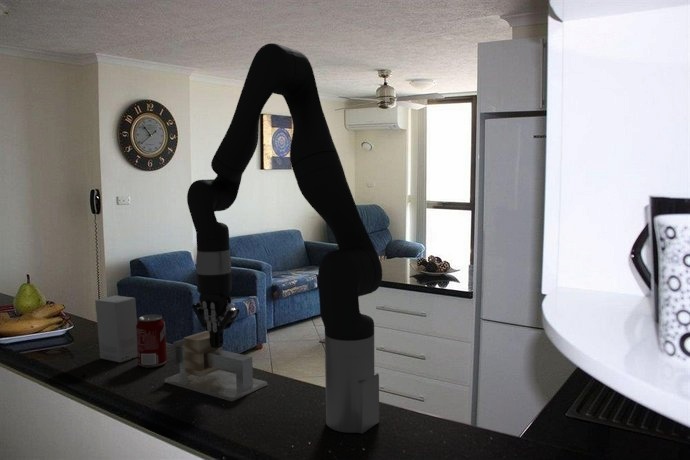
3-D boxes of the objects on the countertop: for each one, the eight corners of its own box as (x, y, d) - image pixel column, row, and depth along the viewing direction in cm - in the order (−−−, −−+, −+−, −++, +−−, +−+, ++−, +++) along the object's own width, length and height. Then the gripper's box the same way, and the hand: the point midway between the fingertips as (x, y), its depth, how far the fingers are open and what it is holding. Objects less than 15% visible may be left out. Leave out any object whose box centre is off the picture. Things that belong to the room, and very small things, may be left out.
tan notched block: (222, 368, 137) (221, 333, 136) (200, 376, 131) (199, 341, 131) (207, 364, 140) (206, 330, 139) (184, 372, 134) (183, 337, 133)
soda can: (158, 370, 143) (156, 321, 142) (132, 368, 145) (130, 320, 144) (171, 361, 150) (169, 314, 149) (147, 359, 151) (145, 313, 150)
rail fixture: (267, 385, 133) (266, 348, 132) (231, 401, 123) (230, 361, 123) (200, 368, 144) (199, 334, 144) (163, 381, 135) (162, 345, 134)
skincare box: (140, 356, 154) (137, 297, 152) (118, 364, 148) (115, 302, 147) (119, 351, 158) (116, 294, 157) (97, 358, 153) (94, 298, 151)
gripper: (248, 270, 130) (250, 347, 132) (205, 265, 138) (208, 338, 139) (223, 275, 124) (225, 356, 126) (180, 270, 131) (183, 346, 133)
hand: (216, 347), depth 133 cm, fingers closed
